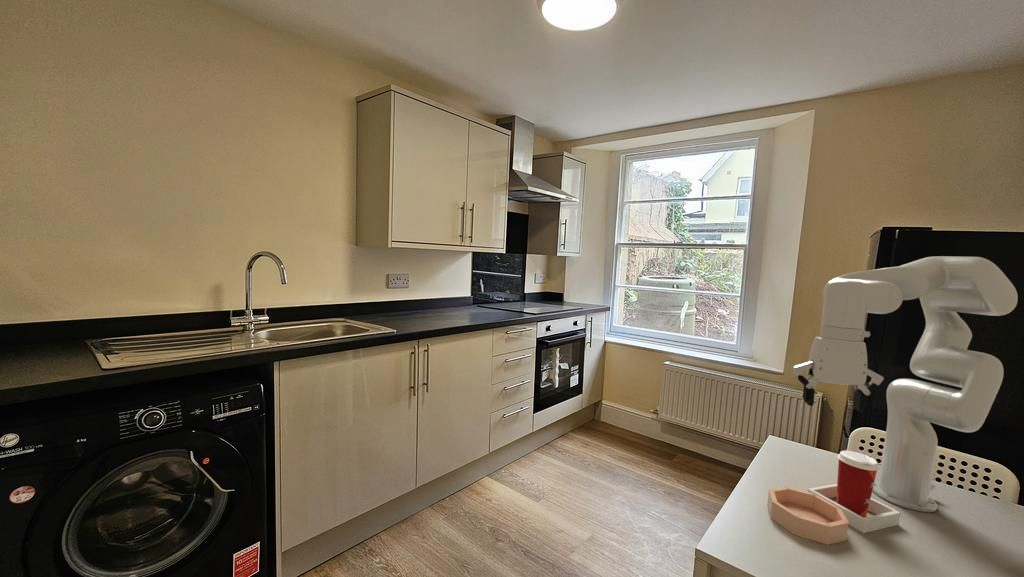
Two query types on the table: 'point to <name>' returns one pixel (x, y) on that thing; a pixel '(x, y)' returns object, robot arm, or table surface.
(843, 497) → the paper cup
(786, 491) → the dish
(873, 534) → the table surface
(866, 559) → the table surface
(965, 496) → the table surface
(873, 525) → the parts tray
